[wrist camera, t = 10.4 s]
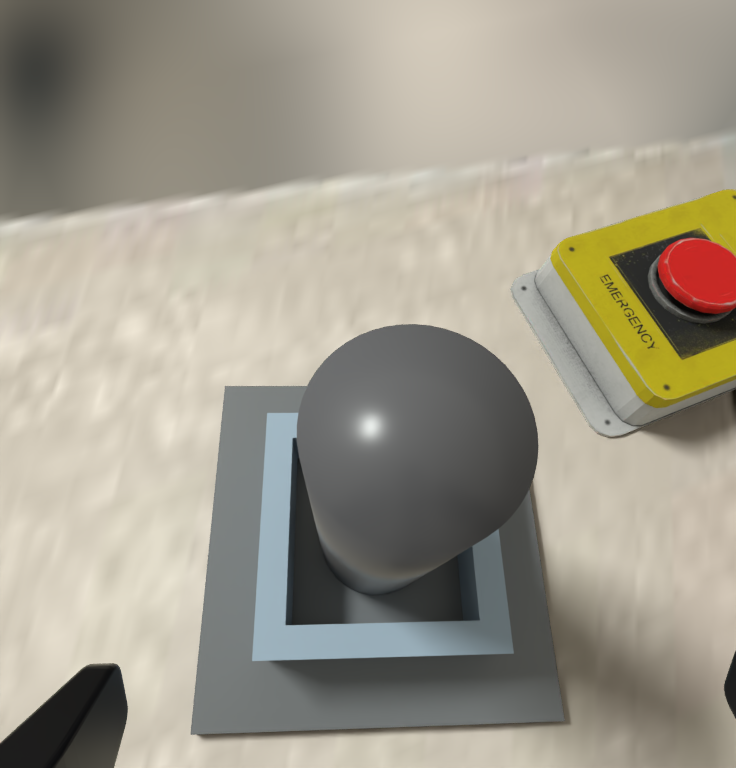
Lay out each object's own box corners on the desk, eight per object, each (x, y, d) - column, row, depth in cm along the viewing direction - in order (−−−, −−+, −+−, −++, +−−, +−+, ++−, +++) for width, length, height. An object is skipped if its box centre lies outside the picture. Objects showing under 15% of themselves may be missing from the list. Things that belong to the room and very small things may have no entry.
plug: (452, 558, 21) (587, 475, 9) (353, 618, 20) (372, 606, 8) (395, 462, 22) (452, 292, 11) (301, 513, 21) (256, 382, 10)
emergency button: (527, 230, 23) (787, 153, 26) (500, 287, 27) (728, 215, 30) (645, 412, 20) (929, 299, 23) (594, 447, 24) (842, 348, 27)
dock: (560, 719, 19) (597, 735, 16) (193, 732, 18) (168, 751, 16) (511, 389, 24) (532, 359, 22) (227, 390, 24) (211, 359, 21)
